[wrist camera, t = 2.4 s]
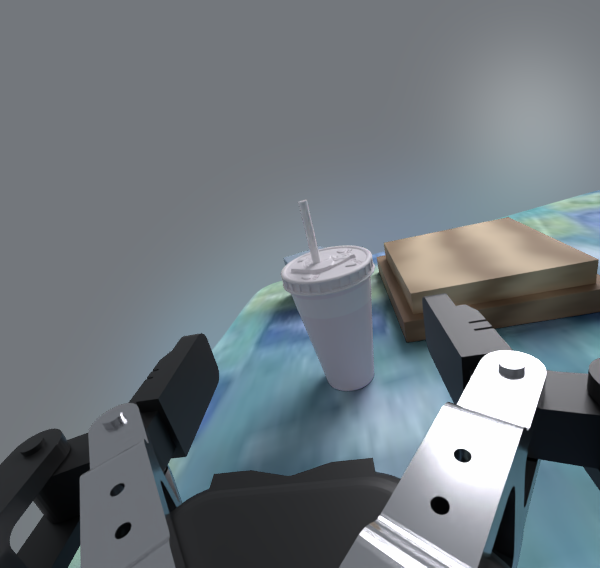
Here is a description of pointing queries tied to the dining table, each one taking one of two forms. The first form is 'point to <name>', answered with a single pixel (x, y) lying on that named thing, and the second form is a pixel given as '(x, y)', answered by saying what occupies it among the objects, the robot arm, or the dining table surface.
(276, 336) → the dining table surface
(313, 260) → the smoothie
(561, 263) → the plinth
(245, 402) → the dining table surface
